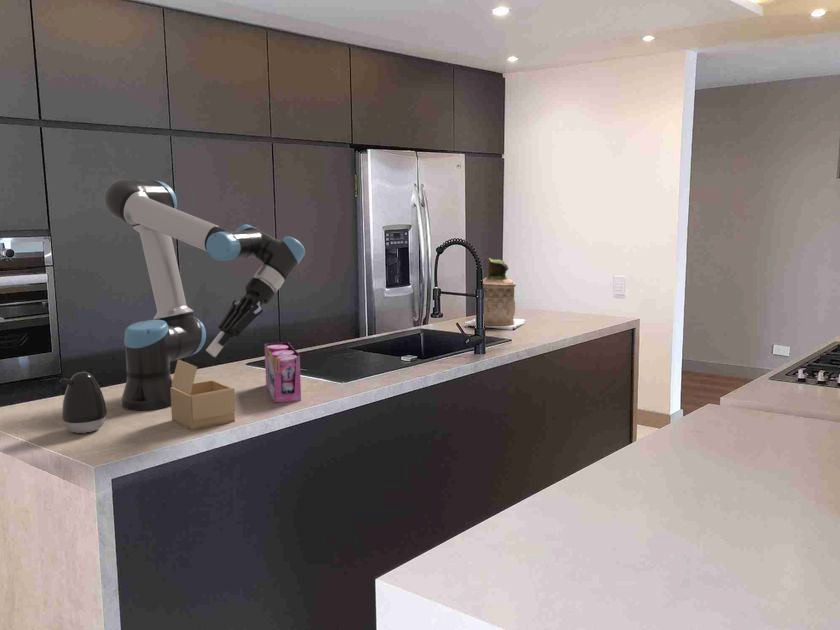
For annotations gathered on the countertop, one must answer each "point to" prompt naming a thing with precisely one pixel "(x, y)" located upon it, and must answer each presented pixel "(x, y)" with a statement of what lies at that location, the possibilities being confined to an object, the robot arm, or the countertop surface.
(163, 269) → the robot arm
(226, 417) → the carton
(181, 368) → the front flap
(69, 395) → the pump dispenser
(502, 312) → the cookie jar
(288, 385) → the gum box
